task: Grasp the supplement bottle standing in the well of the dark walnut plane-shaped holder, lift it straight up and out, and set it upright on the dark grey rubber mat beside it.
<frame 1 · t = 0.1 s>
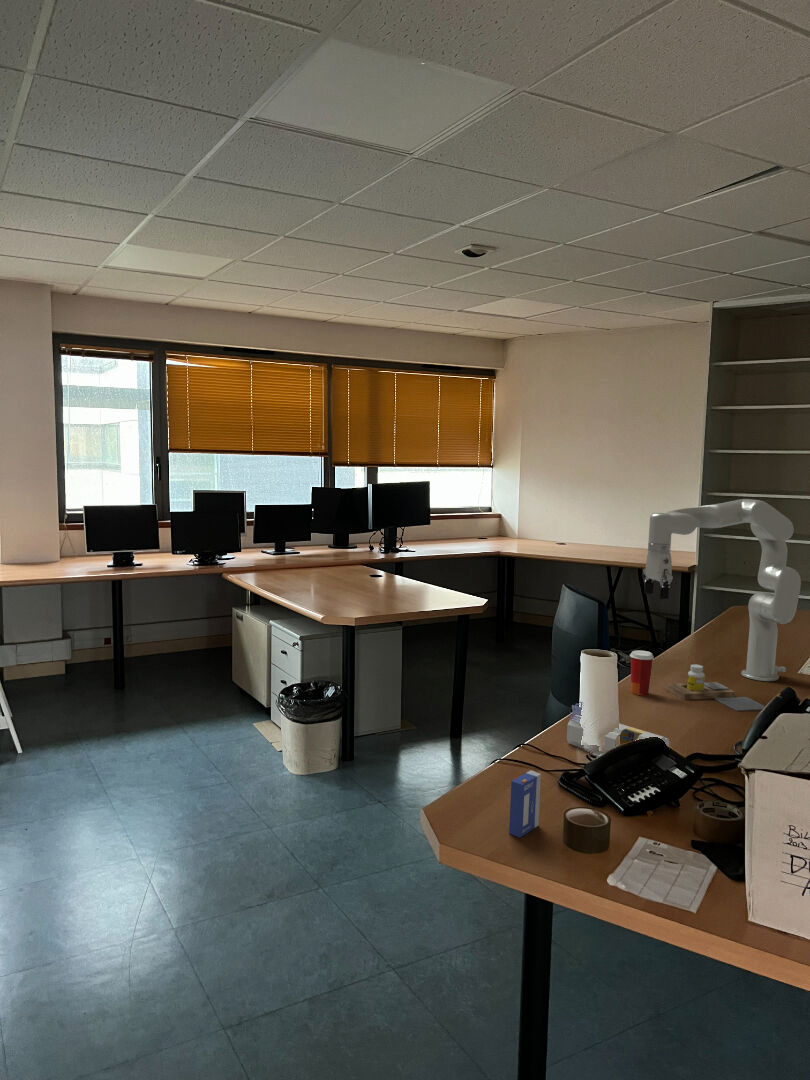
hand: (656, 596, 276), 31 cm above the table, tool pointing down, fingers open, 9 cm apart
rubber mat: (741, 704, 256), on the table
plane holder: (695, 693, 267), on the table
diorama: (615, 754, 212), on the table
supplement bottle: (694, 694, 267), resting in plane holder
paper cup: (639, 693, 266), on the table
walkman: (523, 830, 167), on the table
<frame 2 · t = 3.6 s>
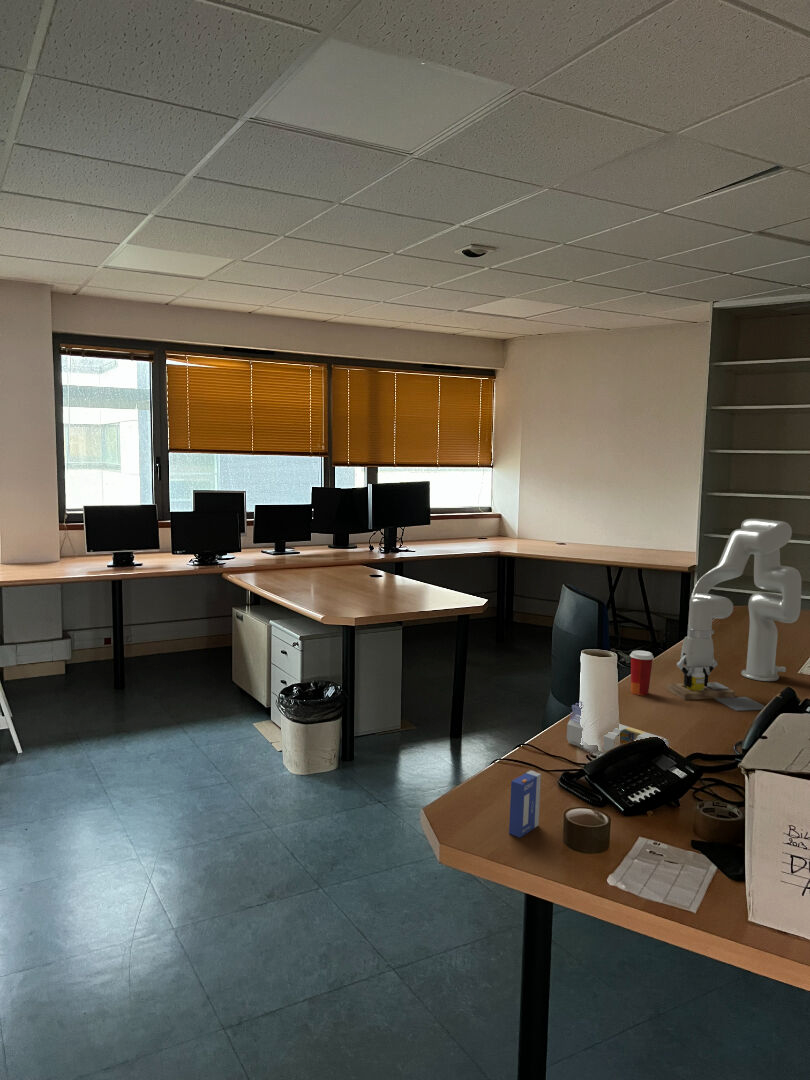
hand: (695, 685, 266), 3 cm above the table, tool pointing down, fingers closed on supplement bottle, 5 cm apart
supplement bottle: (695, 694, 267), resting in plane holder, touching gripper
everything else where it was.
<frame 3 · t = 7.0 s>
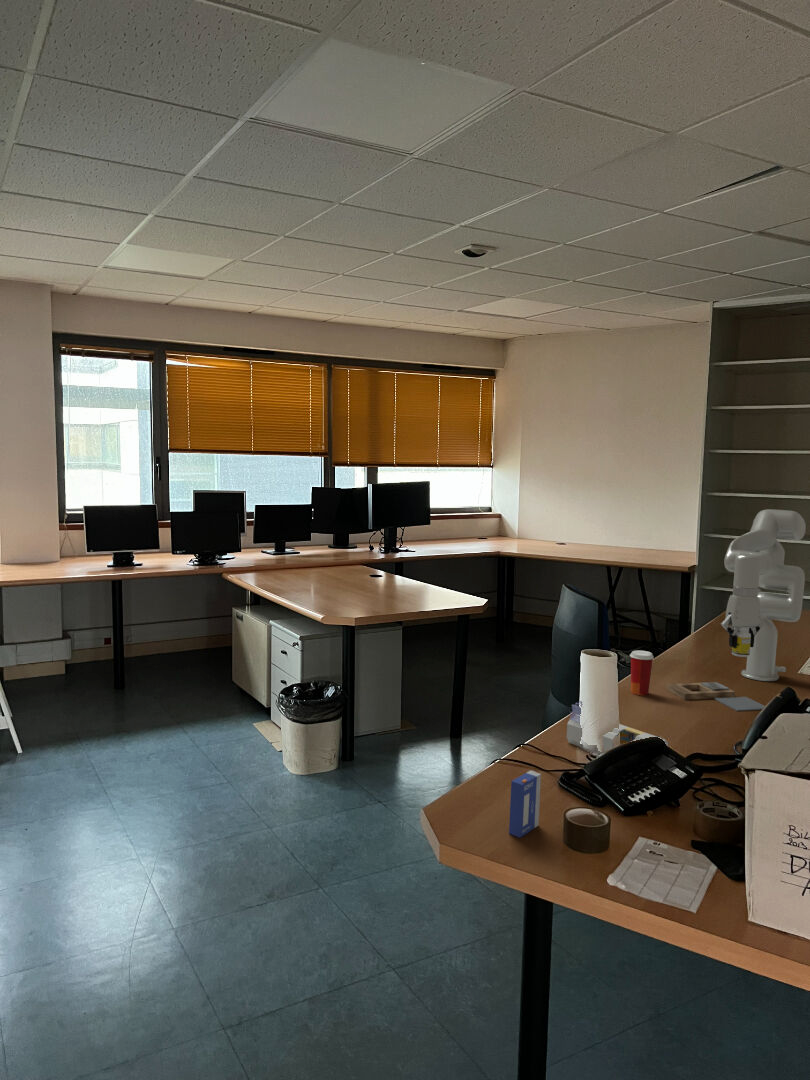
hand: (741, 646, 255), 19 cm above the table, tool pointing down, fingers closed on supplement bottle, 5 cm apart
supplement bottle: (740, 655, 256), point 16 cm above the table, touching gripper
everything else where it was.
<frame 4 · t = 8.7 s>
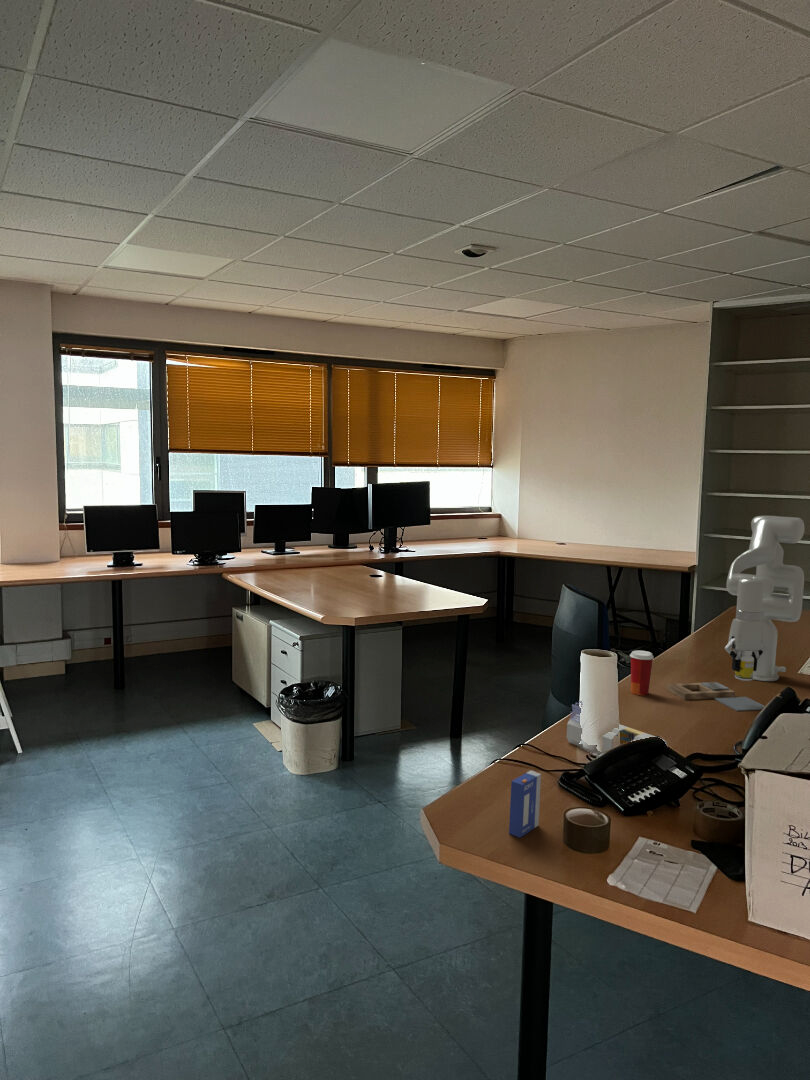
hand: (744, 669, 255), 12 cm above the table, tool pointing down, fingers closed on supplement bottle, 5 cm apart
supplement bottle: (743, 679, 255), point 8 cm above the table, touching gripper
everything else where it was.
when the fingers open (5 cm above the table, at t = 10.4 s): supplement bottle drops 1 cm, resting on rubber mat.
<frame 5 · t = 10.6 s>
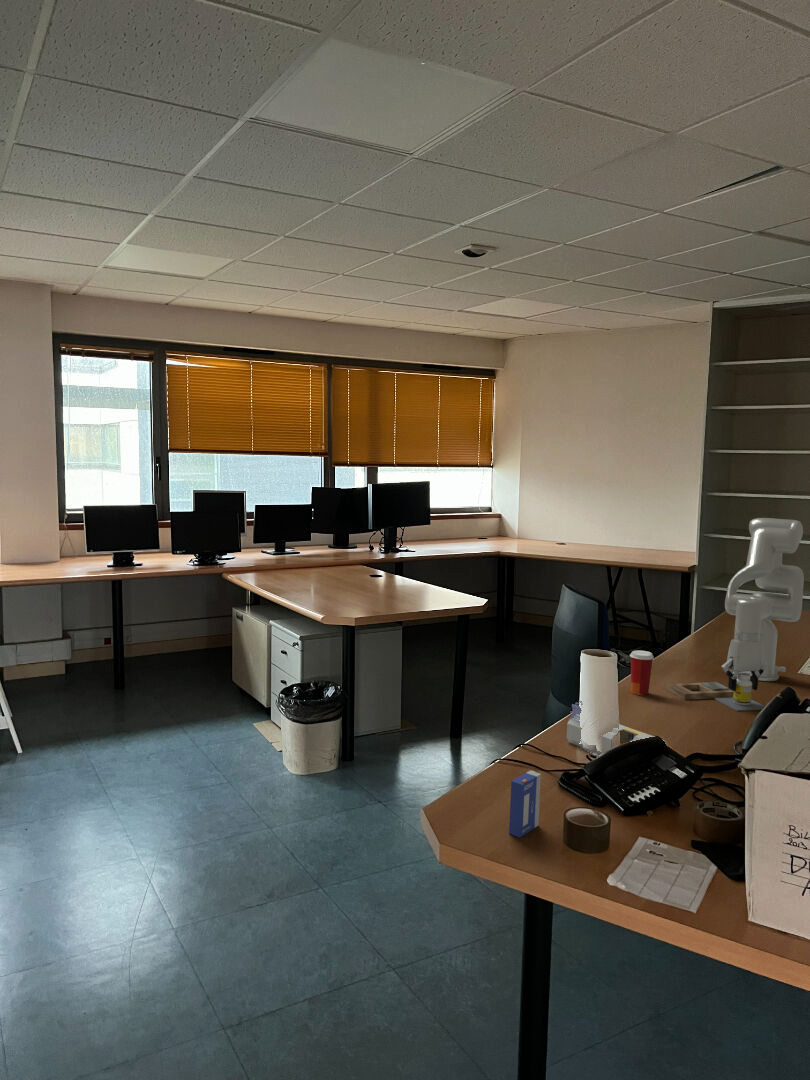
hand: (742, 689, 256), 5 cm above the table, tool pointing down, fingers open, 7 cm apart
supplement bottle: (741, 703, 257), resting on rubber mat
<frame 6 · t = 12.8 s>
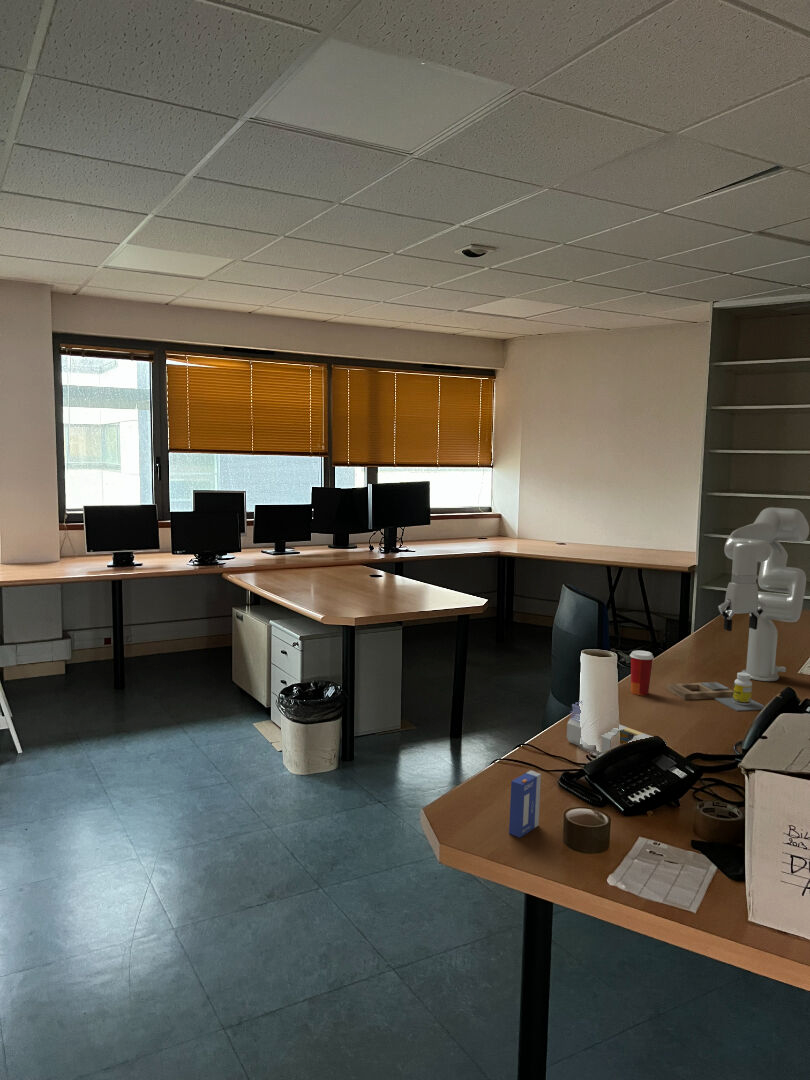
hand: (740, 629, 261), 24 cm above the table, tool pointing down, fingers open, 9 cm apart
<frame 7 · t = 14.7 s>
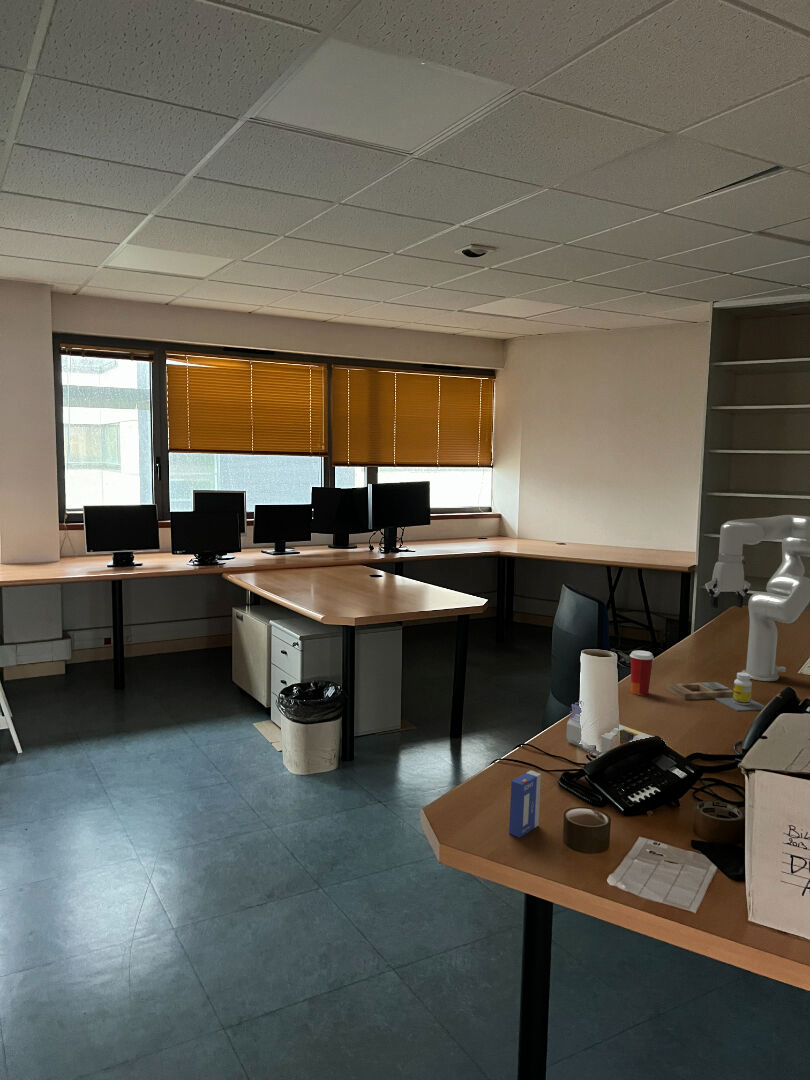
hand: (726, 607, 274), 28 cm above the table, tool pointing down, fingers open, 9 cm apart
at the end: supplement bottle inside the target area on the rubber mat (0.1 cm from its centre), point 0.2 cm above the rubber mat's base; supplement bottle tilted 0°; the gripper is holding nothing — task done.
